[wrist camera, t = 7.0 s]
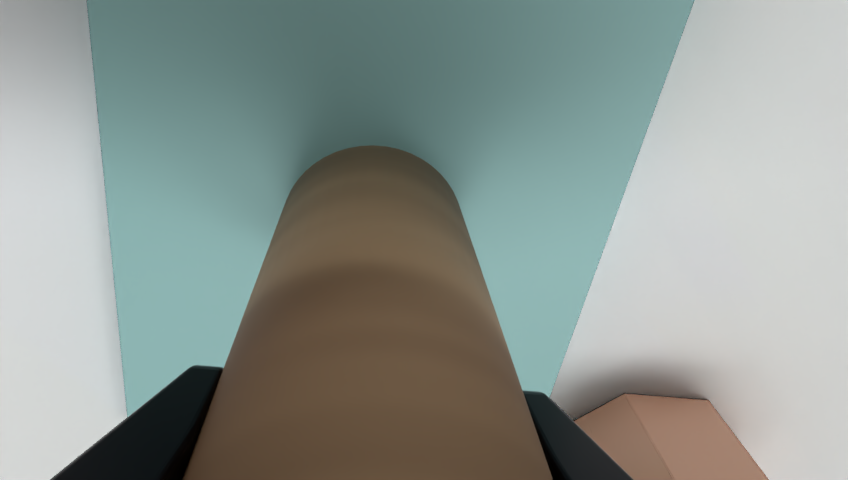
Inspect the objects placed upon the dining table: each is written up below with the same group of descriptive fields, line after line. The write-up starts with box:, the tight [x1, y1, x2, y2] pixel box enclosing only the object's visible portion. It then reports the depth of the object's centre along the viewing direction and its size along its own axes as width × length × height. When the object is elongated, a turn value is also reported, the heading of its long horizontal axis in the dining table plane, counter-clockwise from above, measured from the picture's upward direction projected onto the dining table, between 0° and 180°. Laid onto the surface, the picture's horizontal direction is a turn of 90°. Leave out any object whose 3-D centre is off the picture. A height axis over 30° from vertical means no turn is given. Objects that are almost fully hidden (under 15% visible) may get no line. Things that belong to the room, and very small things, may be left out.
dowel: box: [182, 145, 553, 480], centre depth 8 cm, size 4×4×10 cm
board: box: [87, 0, 694, 417], centre depth 14 cm, size 18×12×2 cm, turn 170°
